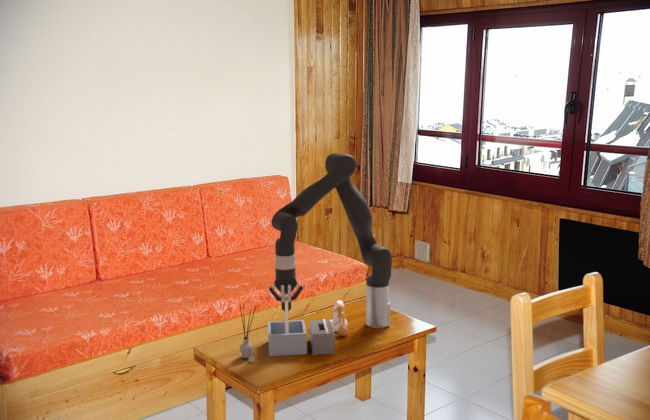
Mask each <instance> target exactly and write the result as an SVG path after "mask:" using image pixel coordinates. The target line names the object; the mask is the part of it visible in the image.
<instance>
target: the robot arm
mask: <svg viewBox="0 0 650 420" xmlns="http://www.w3.org/2000/svg"><path fill="white" fill-rule="evenodd" d="M324 167H325V170H326V174H325V175H324V176H323V177H322V178H320V179H318V180H317V181H316V182H314V183H311V184H310V185H309V186H307V187H305V188H304V189H303V190H302V191H301V192H300V193H299V194H298V195H297V196H296V197H295V198H294V199H292V200H291V201H290V202H289V203H287V204H285V205H284V206H283V207H281V208H280V209H278V210H277V211H276V212H275V213H274V214H273V216H272V217H271V221H270V222H271V226H272V228H273V229H275V230H276V231H279V232H280V234H279V235H280V236H279V238H277V239H276V240H275V242H274V243H275V245H274V246H275V249H274V250H275V251H274V252H275V258H274V271H275V272H274V273H275V280H274V283H273V284H272V285H269V286H268V291H269V292H270V293H271V294H272V295H271V296H273V298H275V300H276V301H277V302H278V301H279V302H281V310H282V311H283V312H284V313H285V297H284V293H288V312H290V311H291V310H292V301H295V300H297V298H298V297H299V296H300V293H302V291H303V288H304V287H303V285H302V284H300V283H298V280H297V279H296V278H297V277H296V276H297V273H296V270H297V269H296V267H297V263H296V254H295V250H296V249H295V241H296V239H297V233H298V229H299V228H298V220H297V218H299V217H304V216H306V215H307V214H308V213H309V212H310V211H311V210H312V209H313V208H314V207H315V206H317V205H316V204H318V203H319V202H320V201H321V200H322V199H323V198H324V197H325V196H327V195H328V194H329V193H330V192H332V191H333V190H334V189H335V190H336V192H337V194H338V197H339V201H340V202H341V205H342V206H343V209H344V212H345V214H346V217H347V220H348V222H349V224H350V226H351V228H352V230H353V233H354V237H355V238H356V240H357V242H358V246H359V247H358V248H359V250H360V254H361V258H362V260H363V261H364V263H365V264H366V265H367V266H369V267H371V269H372V271H371V274H370V275H368V276H367V277H366V281H365V283H366V284H365V285H366V286H365V287H366V289H365V290H366V293H365V296H366V297H365V298H366V299H365V300H366V301H365V302H366V303H365V304H366V305H365V309H366V310H365V312H366V313H365V314H366V315H365V321H366V322H365V324H366V326H367V327H369V328H372V329H383V328H386V327H391V304H390V280H391V277H392V266H393V258H392V257H393V256H392V252H391V251H390V250H389V249H388V248H387V247H384V246H381V245H379V244H378V243H377V241H376V239H375V237H374V234H373V230H372V229H373V228H372V227H373V215H372V212H371V209H370V207H369V205H368V204H369V203H367V200H366V199H365V197H364V196H363V194H362V193H361V192H360V191H359V190H358V188H357V187H356V186H355V185H354V183H353V182H352V180H351V178H350V177H351V176H353V175H354V173H355V172H356V169H357V162H356V159H355V157H353V156H352V155H351V154H347V153H341V152H340V153H339V152H333V153H330V154H328V155H327V157H326V158H325V163H324ZM276 289H277V290H278V292H279V293H280V295H279V294H278V292H277V291H276ZM294 290H295V291H294ZM293 291H294V293H293ZM292 293H293V294H292Z"/></svg>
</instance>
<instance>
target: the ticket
mask: <svg viewBox="0 0 650 420" xmlns="http://www.w3.org/2000/svg"><path fill="white" fill-rule="evenodd" d="M284 297H285V312H284V321H285V334H289V321H290V320H289V319H290V318H289V311H288V293H284Z"/></svg>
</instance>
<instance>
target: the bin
mask: <svg viewBox="0 0 650 420" xmlns="http://www.w3.org/2000/svg"><path fill="white" fill-rule="evenodd" d="M267 333H268V334H267V339H268V340H267V341H268V356H269V357H275V356H276V357H278V356H299V355H307V354H308V333H307V328H306V323H305V319H300V320H299V319H297V320H295V319H294V320H289V334H285V320H278V321H275V320H274V321H267Z"/></svg>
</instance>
